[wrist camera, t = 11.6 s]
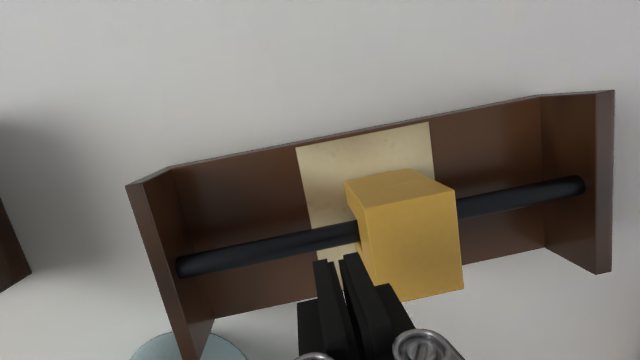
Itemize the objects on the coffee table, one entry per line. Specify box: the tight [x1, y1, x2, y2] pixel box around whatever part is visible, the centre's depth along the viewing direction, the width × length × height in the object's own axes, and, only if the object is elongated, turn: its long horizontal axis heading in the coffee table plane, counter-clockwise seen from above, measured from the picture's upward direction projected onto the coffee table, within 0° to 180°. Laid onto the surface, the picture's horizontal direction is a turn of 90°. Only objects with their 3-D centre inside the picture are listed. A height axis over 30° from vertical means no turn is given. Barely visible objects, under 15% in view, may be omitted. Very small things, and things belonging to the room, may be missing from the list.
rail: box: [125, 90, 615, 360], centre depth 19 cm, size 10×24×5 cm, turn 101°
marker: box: [344, 168, 464, 302], centre depth 17 cm, size 5×4×6 cm
